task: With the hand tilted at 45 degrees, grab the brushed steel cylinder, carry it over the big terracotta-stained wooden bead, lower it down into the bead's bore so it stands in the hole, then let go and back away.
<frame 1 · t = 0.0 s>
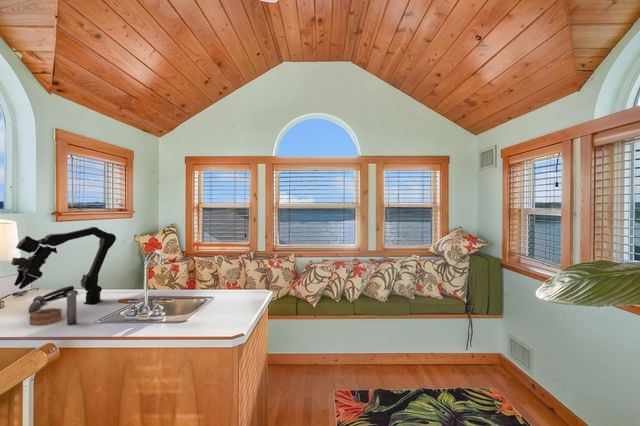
hand: (17, 287, 158), 15 cm above the worktop, fingers open, 9 cm apart
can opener: (59, 298, 191), on the worktop
paintbrush: (37, 308, 173), on the worktop
brushed steel cylinder: (71, 323, 152), on the worktop
bead: (45, 320, 155), on the worktop
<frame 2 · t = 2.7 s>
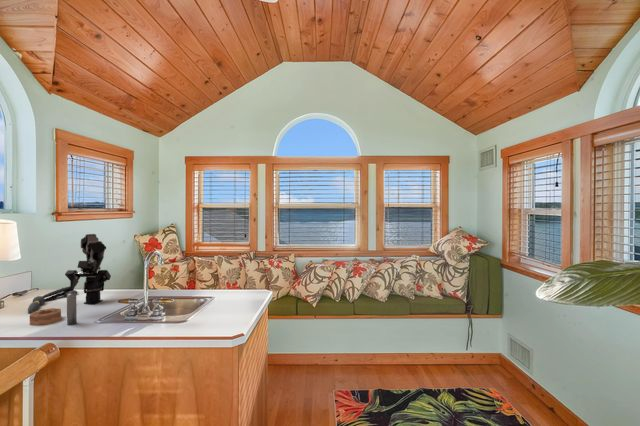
hand: (81, 290, 159), 13 cm above the worktop, fingers open, 9 cm apart
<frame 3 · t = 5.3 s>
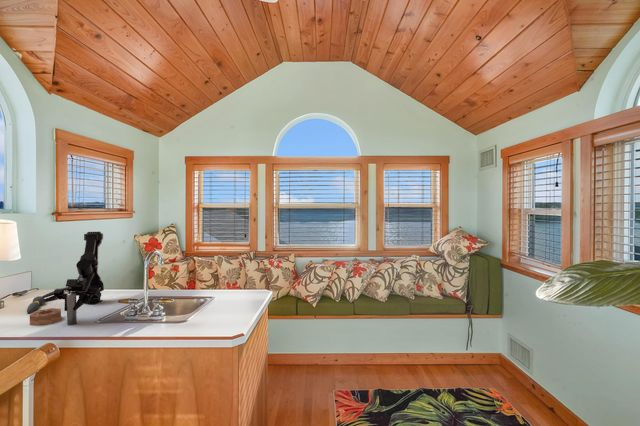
hand: (69, 310, 150), 7 cm above the worktop, fingers closed on brushed steel cylinder, 3 cm apart
brushed steel cylinder: (71, 323, 152), on the worktop, touching gripper
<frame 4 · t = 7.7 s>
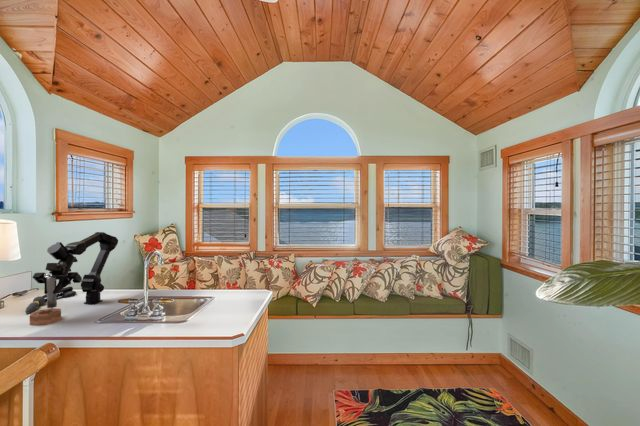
hand: (49, 293, 153), 13 cm above the worktop, fingers closed on brushed steel cylinder, 3 cm apart
brushed steel cylinder: (52, 306, 154), point 7 cm above the worktop, touching gripper
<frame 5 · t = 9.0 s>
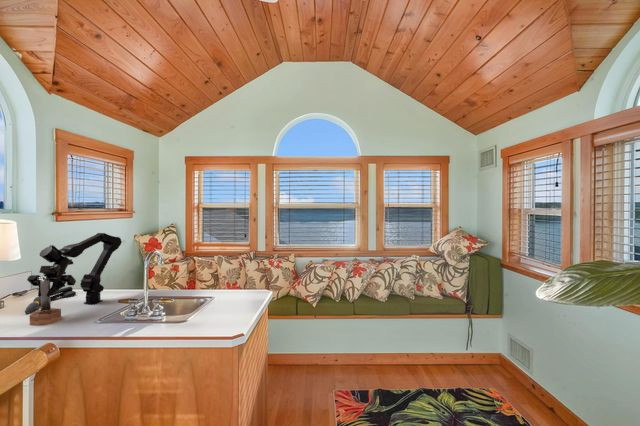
hand: (43, 296, 153), 12 cm above the worktop, fingers closed on brushed steel cylinder, 3 cm apart
brushed steel cylinder: (45, 309, 155), point 5 cm above the worktop, touching gripper
when the fingers open (8 cm above the worktop, at t = 10.1 s): brushed steel cylinder drops 1 cm, resting in bead.
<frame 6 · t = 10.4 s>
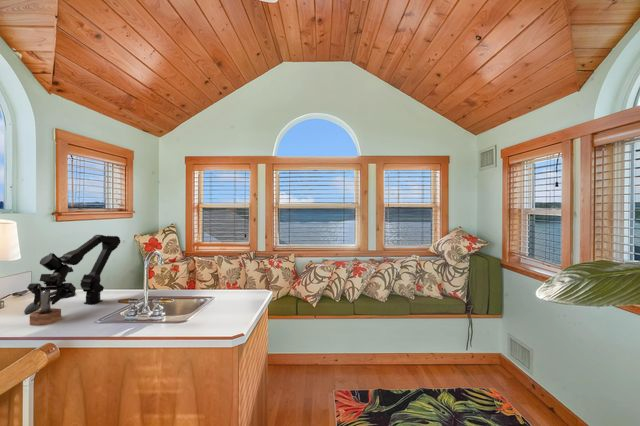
hand: (43, 304, 153), 8 cm above the worktop, fingers open, 7 cm apart
brushed steel cylinder: (45, 320, 155), resting in bead
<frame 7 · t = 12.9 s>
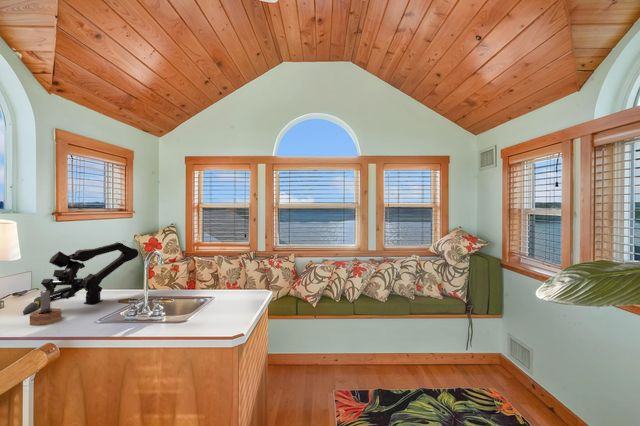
hand: (56, 298, 162), 8 cm above the worktop, fingers open, 9 cm apart
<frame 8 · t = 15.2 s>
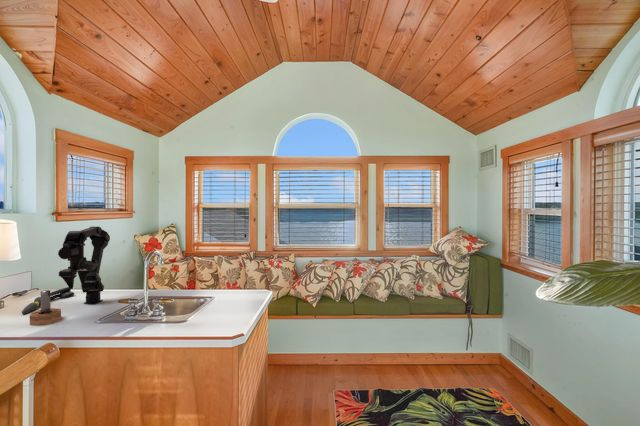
hand: (77, 286, 167), 13 cm above the worktop, fingers open, 9 cm apart
at the end: brushed steel cylinder 0.0 cm off-centre on the bead, point 0.0 cm above the bead's base; brushed steel cylinder tilted 0°; the gripper is holding nothing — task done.
